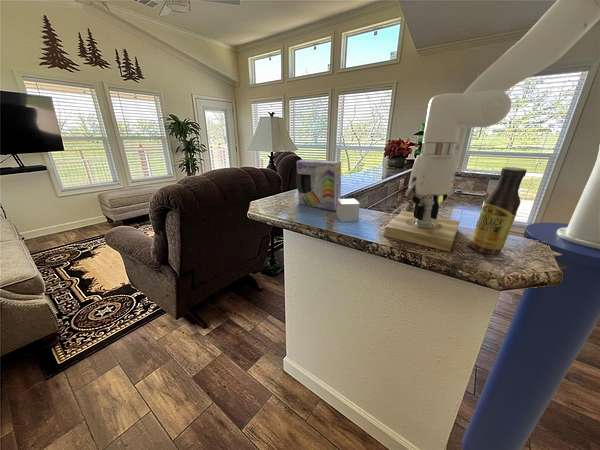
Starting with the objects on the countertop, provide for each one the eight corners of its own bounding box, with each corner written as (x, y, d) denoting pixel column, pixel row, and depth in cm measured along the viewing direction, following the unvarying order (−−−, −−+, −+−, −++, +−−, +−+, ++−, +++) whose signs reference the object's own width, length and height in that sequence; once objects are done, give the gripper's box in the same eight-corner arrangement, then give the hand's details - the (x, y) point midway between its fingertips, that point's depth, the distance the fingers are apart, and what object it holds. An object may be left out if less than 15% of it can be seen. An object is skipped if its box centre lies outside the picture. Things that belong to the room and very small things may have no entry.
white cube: (340, 221, 77) (341, 204, 75) (336, 215, 83) (337, 199, 81) (358, 220, 78) (359, 203, 76) (353, 214, 83) (354, 198, 81)
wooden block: (400, 219, 78) (402, 210, 77) (457, 230, 69) (459, 220, 68) (384, 236, 66) (385, 226, 65) (449, 251, 57) (452, 240, 56)
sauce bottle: (463, 246, 60) (485, 166, 52) (481, 242, 61) (504, 165, 54) (490, 258, 54) (519, 171, 46) (509, 253, 56) (539, 169, 48)
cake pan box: (295, 203, 98) (294, 159, 91) (303, 200, 101) (303, 158, 95) (333, 212, 86) (335, 163, 79) (341, 209, 89) (343, 161, 83)
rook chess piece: (411, 225, 67) (416, 198, 64) (419, 222, 70) (424, 195, 67) (427, 230, 64) (432, 202, 61) (434, 226, 66) (440, 199, 63)
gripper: (456, 147, 63) (442, 212, 70) (399, 149, 61) (390, 215, 68) (480, 149, 56) (461, 221, 63) (416, 152, 55) (404, 225, 61)
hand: (424, 217), depth 66 cm, fingers closed on rook chess piece, 3 cm apart
